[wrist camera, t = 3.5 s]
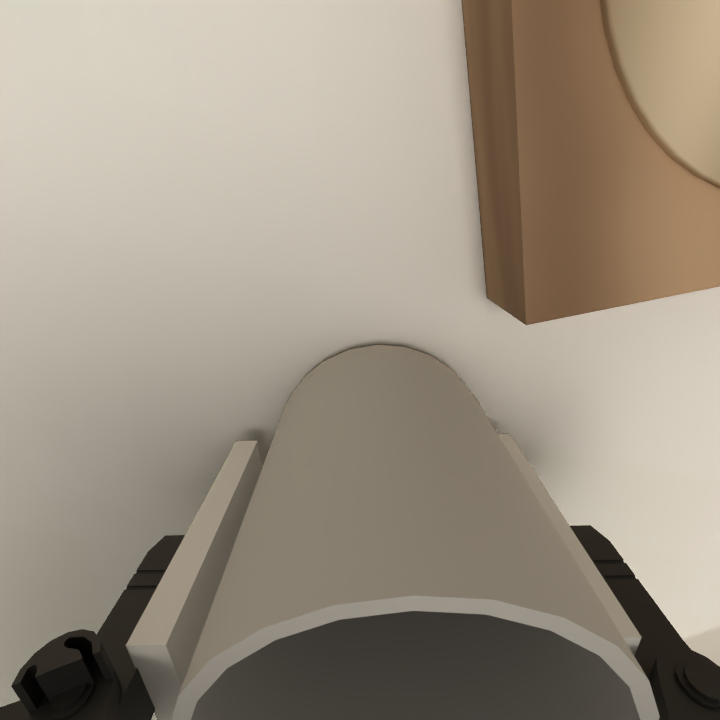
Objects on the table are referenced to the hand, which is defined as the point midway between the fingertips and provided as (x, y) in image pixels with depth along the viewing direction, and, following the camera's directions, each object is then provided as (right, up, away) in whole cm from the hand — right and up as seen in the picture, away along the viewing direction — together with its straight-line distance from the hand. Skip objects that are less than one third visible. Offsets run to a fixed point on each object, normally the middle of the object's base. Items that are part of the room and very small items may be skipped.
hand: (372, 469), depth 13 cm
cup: (-1, 0, +1) cm, 1 cm away
